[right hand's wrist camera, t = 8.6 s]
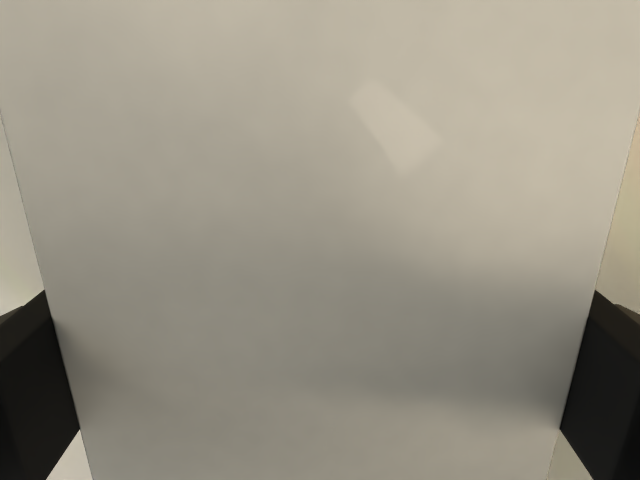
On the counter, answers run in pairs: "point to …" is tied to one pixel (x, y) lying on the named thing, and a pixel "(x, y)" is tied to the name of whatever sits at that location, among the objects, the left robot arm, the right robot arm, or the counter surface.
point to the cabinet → (319, 225)
